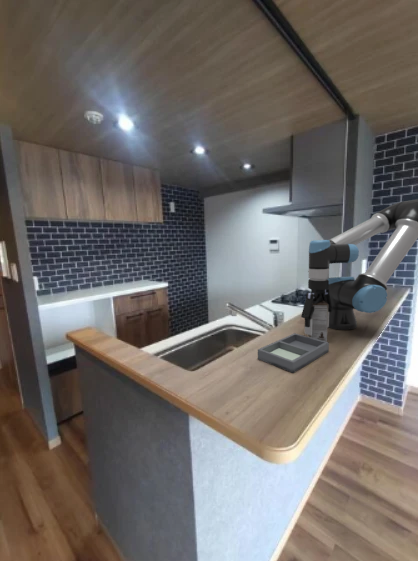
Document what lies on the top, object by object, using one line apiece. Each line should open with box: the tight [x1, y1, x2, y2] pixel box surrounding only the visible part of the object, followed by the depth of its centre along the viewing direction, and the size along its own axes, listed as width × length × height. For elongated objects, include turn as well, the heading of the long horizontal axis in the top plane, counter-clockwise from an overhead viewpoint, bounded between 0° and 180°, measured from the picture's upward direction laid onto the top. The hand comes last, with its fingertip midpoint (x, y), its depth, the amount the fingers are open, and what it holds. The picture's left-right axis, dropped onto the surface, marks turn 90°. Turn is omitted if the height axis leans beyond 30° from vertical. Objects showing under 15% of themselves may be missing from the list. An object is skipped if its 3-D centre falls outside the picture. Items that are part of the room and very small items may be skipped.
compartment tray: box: [257, 332, 330, 374], centre depth 94 cm, size 23×14×4 cm, turn 130°
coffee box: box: [307, 300, 328, 342], centre depth 107 cm, size 9×6×16 cm
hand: (317, 330), depth 108 cm, fingers open, 13 cm apart
